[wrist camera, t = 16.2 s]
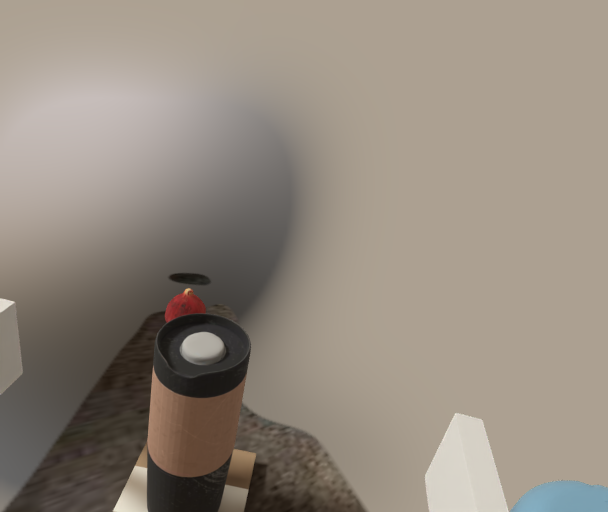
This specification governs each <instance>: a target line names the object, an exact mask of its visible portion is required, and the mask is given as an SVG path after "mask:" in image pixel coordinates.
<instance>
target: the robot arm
mask: <svg viewBox="0 0 608 512" xmlns="http://www.w3.org/2000/svg"><path fill="white" fill-rule="evenodd" d="M22 373H23V370H22V360H21V351H20V342H19V333H18V324H17V314H16V305H15V302H13V301H9V300H5V299H1V298H0V395H1V394H2V393H3V392H4V391H5V390H6V389H7V388H8V387H9V386H10V385H11V384H12V383H13V382H14V381H15V380H16V379H17V378H18V377H19V376H21V374H22ZM425 481H426V490H427V498H428V507H429V512H509V511H508V507H507V504H506V501H505V497H504V494H503V490H502V487H501V484H500V480H499V476H498V473H497V469H496V466H495V462H494V459H493V455H492V452H491V448H490V445H489V441H488V438H487V434H486V431H485V428H484V424H483V421H482V419H478V418H474V417H470V416H466V415H462V414H458V413H455V415H454V417H453V419H452V421H451V423H450V425H449V428H448V429H447V432H446V434H445V436H444V438H443V440H442V442H441V444H440V446H439V448H438V450H437V452H436V454H435V456H434V459H433V461H432V463H431V465H430V467H429V469H428V471H427V473H426V475H425ZM510 512H608V488H607V487H604V486H600V485H593V486H591V485H588V484H585V483H582V482H579V481H555V482H548V483H544V484H541V485H539V486H536V487H534V488H533V489H531V490H529V491H528V492H527V493H525V494H524V495H523V496H522V497H521V498H520V499H519V501H518V502H517V503H516V504H515V506H514V507H513V508H512V509H511V511H510Z"/></svg>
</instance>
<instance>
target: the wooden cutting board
mask: <svg viewBox="0 0 608 512" xmlns="http://www.w3.org/2000/svg"><path fill="white" fill-rule="evenodd" d="M147 445H148V441H147V443H146V445H145V447H144V449H143V451H142V453H141V455H140V457H139V459H138V461H137V463H136V465H135V467H134V469H133V471H132V473H131V475H130V478H129V480H128V482H127V484H126V486H125V488H124V490H123V492H122V494H121V496H120V498H119V500H118V502H117V504H116V506H115V508H114V510H113V512H148V509H147ZM255 457H256V453H251V452H246V451H241V450H237V449H233V453H232V457H231V462H230V466H229V470H228V475H227V479H226V483H225V488H224V492H223V496H222V500H221V504H220V507H219V510H218V512H244V509H245V504H246V499H247V495H248V490H249V485H250V481H251V476H252V471H253V467H254V462H255Z"/></svg>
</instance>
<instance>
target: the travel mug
mask: <svg viewBox="0 0 608 512" xmlns="http://www.w3.org/2000/svg"><path fill="white" fill-rule="evenodd" d="M250 348H251V343H250V339H249V336H248V334H247V333H246V331H245V330H244V329H243V328H242V327H241V326H240V325H238V324H237V323H235V322H234V321H232V320H230V319H228V318H225V317H222V316H219V315H214V314H206V313H195V314H188V315H183V316H180V317H177V318H175V319H173V320H171V321H169V322H168V323H166V324H165V325H164V326H163V327H162V328H161V329H160V331H159V332H158V334H157V337H156V340H155V349H154V363H153V376H152V390H151V403H150V416H149V430H148V445H147V509H148V512H218V510H219V507H220V504H221V500H222V496H223V492H224V488H225V483H226V479H227V475H228V470H229V466H230V462H231V457H232V453H233V449H234V444H235V439H236V433H237V427H238V421H239V415H240V409H241V404H242V397H243V391H244V386H245V380H246V374H247V368H248V362H249V357H250V350H251V349H250Z"/></svg>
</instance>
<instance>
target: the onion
mask: <svg viewBox="0 0 608 512" xmlns="http://www.w3.org/2000/svg"><path fill="white" fill-rule="evenodd" d="M195 313H206V308H205V305H204V303H203V302H202V301H201V300H200V299H199V298H198V297H197V296H196V295H194V294H193V290H192V289H190V288H189V289H186V290H185V291H184V293H182V294H179V295H177V296H175V297H174V298H173V299H172V300H171V301H170V302H169V304H168V306H167V309H166V313H165V319H166V322H167V323H168V322H169V321H171V320H173V319H175V318H177V317H180V316H183V315H188V314H195Z"/></svg>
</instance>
